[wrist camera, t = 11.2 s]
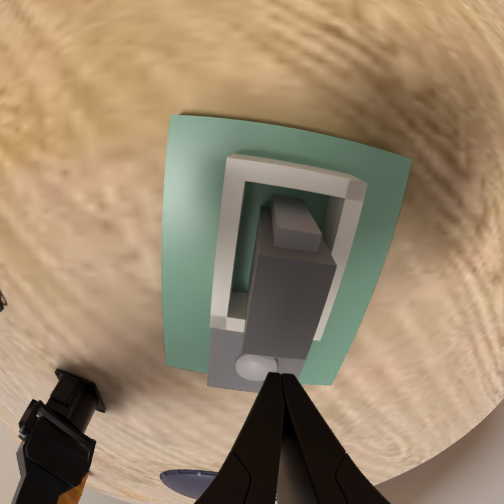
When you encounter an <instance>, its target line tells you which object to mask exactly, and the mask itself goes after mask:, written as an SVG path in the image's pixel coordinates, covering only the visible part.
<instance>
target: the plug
mask: <svg viewBox="0 0 504 504" xmlns="http://www.w3.org/2000/svg"><path fill="white" fill-rule="evenodd" d="M336 268H337V265H336V263H335V261H334V259H333V257H332V255H331V253H330V251H329V249H328V247H327V245H326V243H325V241H324V240H323V238H322V233H321V231H320V230H319V228H318V226H317V224H316V222H315V221H314V219H313V217H312V215H311V213H310V212H309V210H308V208H307V206H306V205H305V203H304V201H303V199H297V198H291V197H285V196H279V195H272V201H271V207H265V206H260V212H259V218H258V225H257V231H256V237H255V244H254V250H253V257H252V263H251V269H250V276H249V284H248V294H247V305H246V315H245V326H244V336H243V347H242V353H243V354H251V355H259V356H261V357H262V358H265V359H274V358H276V357H278V358H289V359H301V360H306V357H307V355H308V352H309V349H310V347H311V344H312V341H313V338H314V336H315V333H316V330H317V327H318V324H319V321H320V318H321V316H322V313H323V310H324V307H325V303H326V300H327V297H328V294H329V291H330V288H331V285H332V281H333V278H334V275H335V271H336Z"/></svg>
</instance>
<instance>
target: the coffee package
mask: <svg viewBox="0 0 504 504" xmlns="http://www.w3.org/2000/svg"><path fill="white" fill-rule="evenodd" d="M88 475H89V471H88V473H87V474H86V476H85V477H84V478H83V479H82V482H81V484H80V485H78V486H77V487H74V488H73V489H71V490H69V491H67V492H66V493H64V494H62V495H60V497H59V500H58V503H57V504H78V502H79V499H80V497H81V495H82V491H83V488H84V485H85V482H86V479H87V477H88Z"/></svg>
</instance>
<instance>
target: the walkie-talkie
mask: <svg viewBox="0 0 504 504" xmlns="http://www.w3.org/2000/svg"><path fill="white" fill-rule="evenodd" d="M3 309H4V306H3V304H2V301H1V295H0V312H1V311H2V310H3Z"/></svg>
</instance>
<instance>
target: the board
mask: <svg viewBox="0 0 504 504" xmlns="http://www.w3.org/2000/svg"><path fill="white" fill-rule="evenodd" d="M411 163H412V159H410V158H407V157H404V156H401V155H398V154H395V153H392V152H388V151H385V150H382V149H378V148H375V147H372V146H368V145H364V144H361V143H357V142H353V141H349V140H345V139H341V138H337V137H333V136H329V135H324V134H320V133H315V132H310V131H305V130H300V129H295V128H290V127H284V126H278V125H272V124H265V123H258V122H251V121H243V120H235V119H226V118H216V117H204V116H189V115H171V116H170V125H169V133H168V143H167V153H166V165H165V178H164V193H163V214H162V309H163V330H164V345H165V358H166V366H170V367H175V368H180V369H185V370H190V371H196V372H201V373H207V374H208V384H207V386H211V387H217V388H224V389H231V390H239V391H247V392H256V393H259V391H260V389H261V387H262V385H263V382H264V380H265V378H266V376H267V374H268V372H278V373H280V374H282V373H290V374H294V375H295V376H296V378H297V379H298V381H299V382H300V384H309V385H331V384H332V383H333V381H334V379H335V377H336V375H337V373H338V371H339V369H340V367H341V365H342V363H343V361H344V359H345V357H346V355H347V352H348V350H349V348H350V346H351V344H352V342H353V339H354V337H355V335H356V333H357V331H358V328H359V326H360V324H361V321H362V319H363V317H364V314H365V312H366V309H367V307H368V304H369V302H370V299H371V297H372V294H373V292H374V289H375V286H376V284H377V281H378V278H379V275H380V273H381V270H382V267H383V264H384V261H385V258H386V255H387V252H388V249H389V246H390V243H391V240H392V237H393V233H394V230H395V227H396V223H397V220H398V216H399V212H400V209H401V205H402V201H403V197H404V193H405V189H406V185H407V181H408V177H409V172H410V168H411ZM272 195H279V196H285V197H291V198H297V199H303V201H304V203H305V205H306V206H307V208H308V210H309V212H310V213H311V215H312V217H313V219H314V221H315V222H316V224H317V226H318V228H319V230H320V231H321V233H322V238H323V240H324V241H325V243H326V245H327V247H328V249H329V251H330V253H331V255H332V257H333V259H334V261H335V263H336V265H337V268H336V271H335V275H334V278H333V281H332V285H331V288H330V291H329V294H328V297H327V300H326V303H325V307H324V310H323V313H322V316H321V318H320V321H319V324H318V327H317V330H316V333H315V336H314V338H313V341H312V344H311V347H310V349H309V352H308V355H307V357H306V360H301V359H289V358H278V357H276V358H274V359H265V358H262V357H261V356H259V355H251V354H243V353H242V347H243V336H244V326H245V315H246V305H247V294H248V284H249V276H250V269H251V263H252V257H253V250H254V244H255V237H256V231H257V225H258V218H259V212H260V206H265V207H271V201H272Z"/></svg>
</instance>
